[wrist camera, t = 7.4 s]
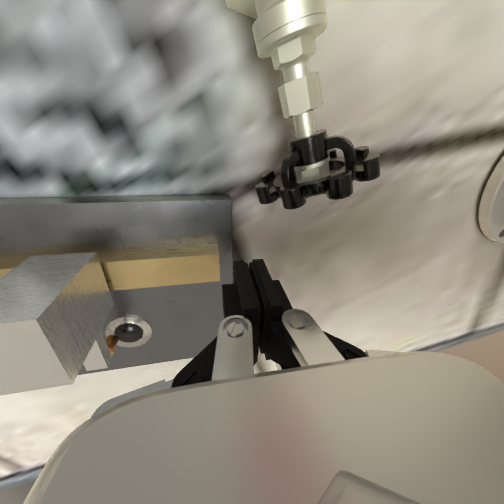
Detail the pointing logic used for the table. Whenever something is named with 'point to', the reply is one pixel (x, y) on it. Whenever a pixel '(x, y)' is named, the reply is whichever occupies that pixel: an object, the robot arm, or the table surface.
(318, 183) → the valve
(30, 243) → the bolt plate
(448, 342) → the table surface
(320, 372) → the robot arm
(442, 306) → the table surface
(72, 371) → the block
